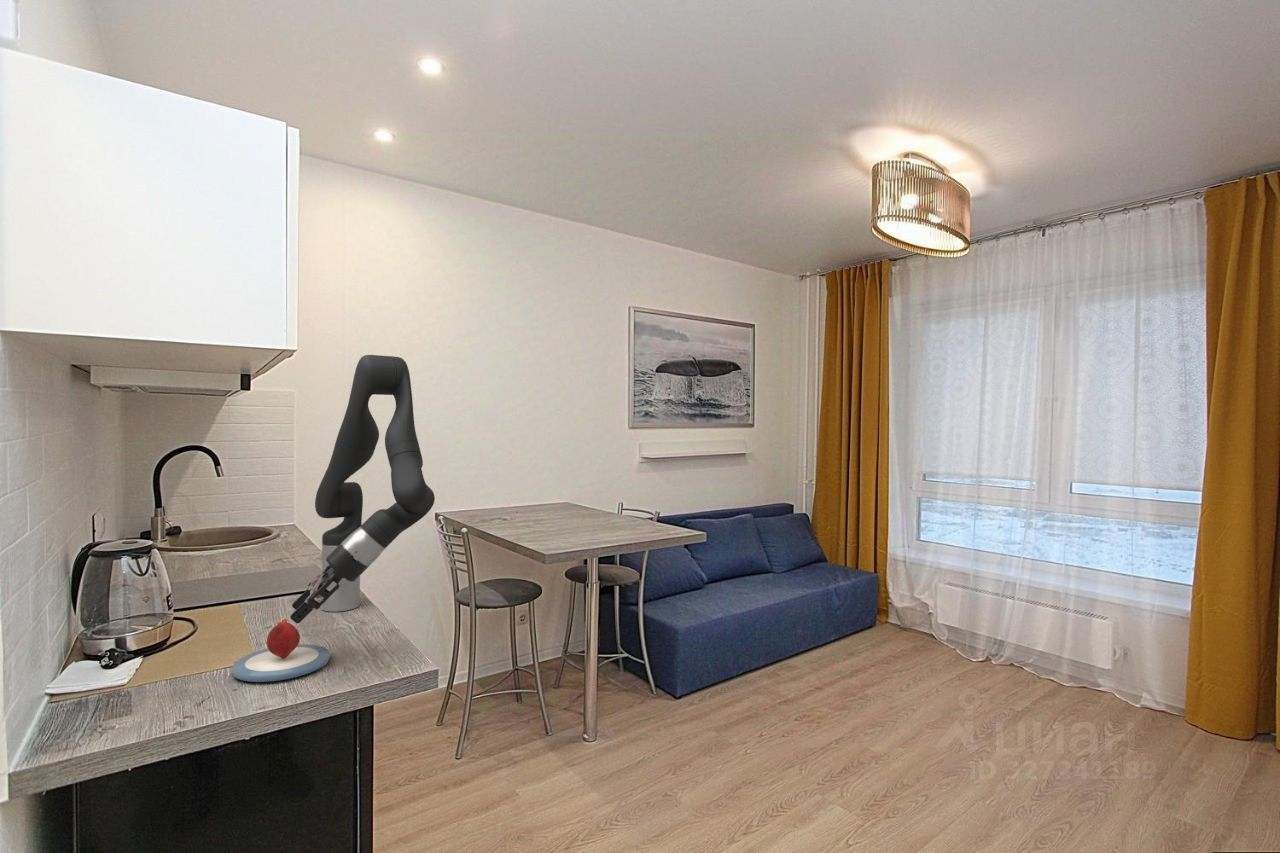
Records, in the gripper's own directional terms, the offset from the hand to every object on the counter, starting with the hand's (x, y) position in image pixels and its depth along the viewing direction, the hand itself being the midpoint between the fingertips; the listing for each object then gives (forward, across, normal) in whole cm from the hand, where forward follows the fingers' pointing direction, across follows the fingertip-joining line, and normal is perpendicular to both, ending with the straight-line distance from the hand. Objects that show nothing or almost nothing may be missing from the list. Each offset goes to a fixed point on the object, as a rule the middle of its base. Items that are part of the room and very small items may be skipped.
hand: (294, 614), depth 131 cm
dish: (+9, 0, +6) cm, 11 cm away
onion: (+8, 0, +5) cm, 9 cm away
